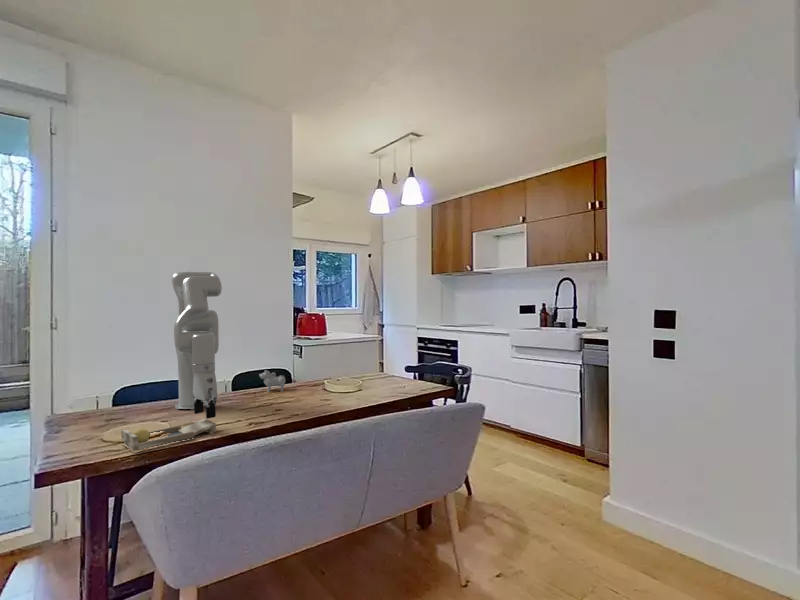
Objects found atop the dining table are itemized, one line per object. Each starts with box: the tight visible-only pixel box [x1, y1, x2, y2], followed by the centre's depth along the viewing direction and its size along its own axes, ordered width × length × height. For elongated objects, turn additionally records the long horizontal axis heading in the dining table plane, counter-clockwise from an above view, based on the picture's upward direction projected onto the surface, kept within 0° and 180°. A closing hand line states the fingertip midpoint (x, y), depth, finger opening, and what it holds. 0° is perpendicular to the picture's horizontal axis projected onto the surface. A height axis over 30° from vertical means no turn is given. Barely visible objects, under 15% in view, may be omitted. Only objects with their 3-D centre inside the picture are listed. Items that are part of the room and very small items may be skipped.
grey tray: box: [121, 425, 195, 451], centre depth 156 cm, size 12×19×5 cm, turn 137°
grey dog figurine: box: [258, 370, 286, 393], centre depth 236 cm, size 5×13×11 cm, turn 100°
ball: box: [133, 428, 150, 444], centre depth 152 cm, size 5×5×5 cm
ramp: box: [177, 418, 217, 436], centre depth 166 cm, size 10×9×3 cm
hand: (204, 415), depth 168 cm, fingers open, 9 cm apart
